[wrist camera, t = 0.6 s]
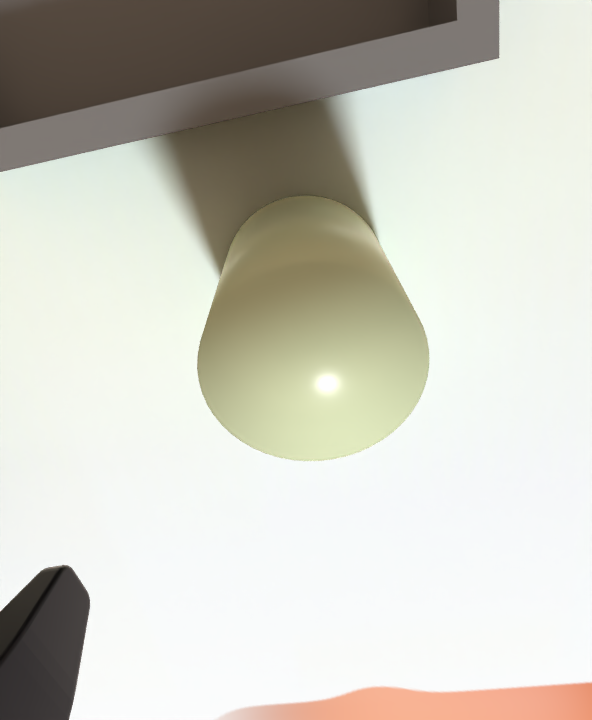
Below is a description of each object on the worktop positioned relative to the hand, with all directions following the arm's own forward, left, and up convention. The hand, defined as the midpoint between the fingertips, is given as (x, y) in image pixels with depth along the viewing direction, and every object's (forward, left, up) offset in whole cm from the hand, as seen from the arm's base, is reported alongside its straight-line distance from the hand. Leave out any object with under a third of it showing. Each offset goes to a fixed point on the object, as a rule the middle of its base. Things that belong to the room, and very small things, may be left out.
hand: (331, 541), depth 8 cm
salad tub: (0, 0, -13) cm, 13 cm away
